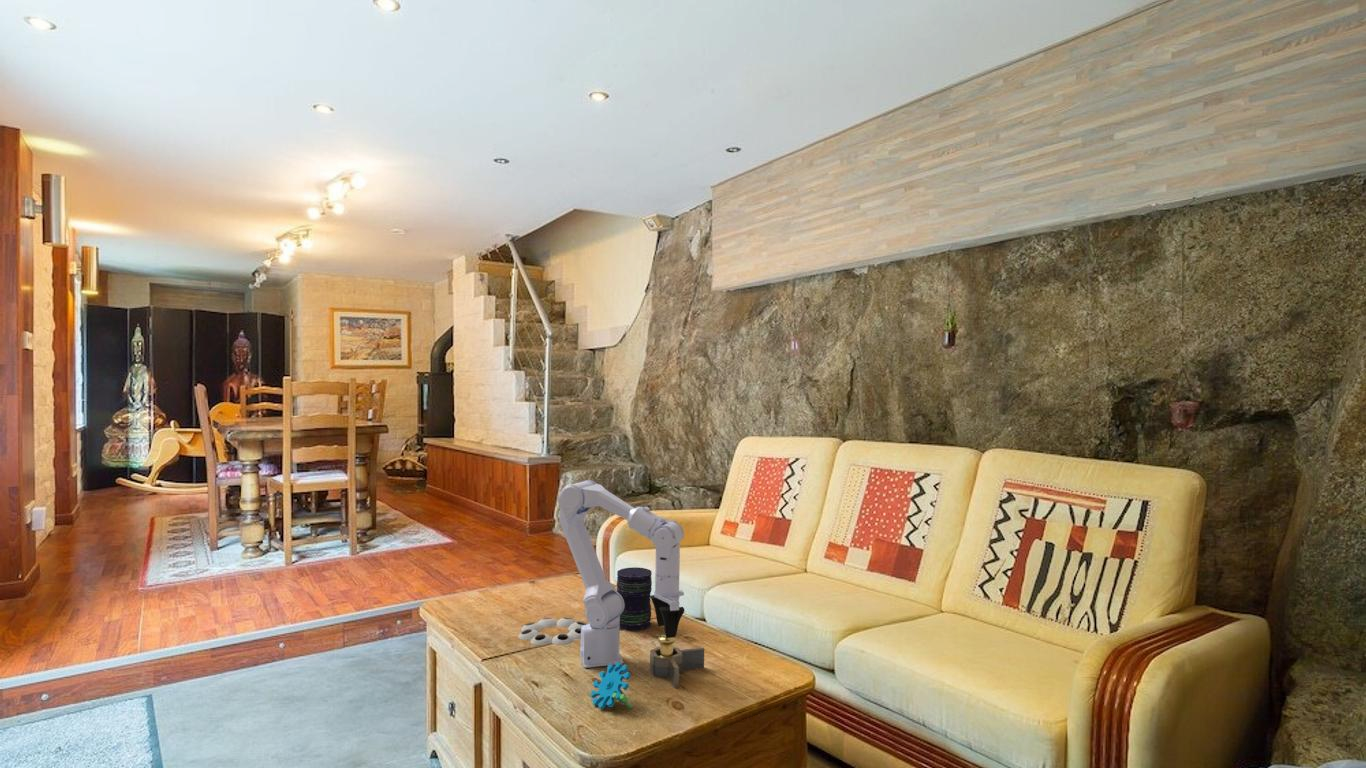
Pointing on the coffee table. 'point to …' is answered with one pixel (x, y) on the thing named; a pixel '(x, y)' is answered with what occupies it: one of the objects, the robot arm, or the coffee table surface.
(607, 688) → the gear
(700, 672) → the coffee table surface
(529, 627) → the ring
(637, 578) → the storage jar
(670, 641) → the hinge pin
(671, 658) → the hinge
